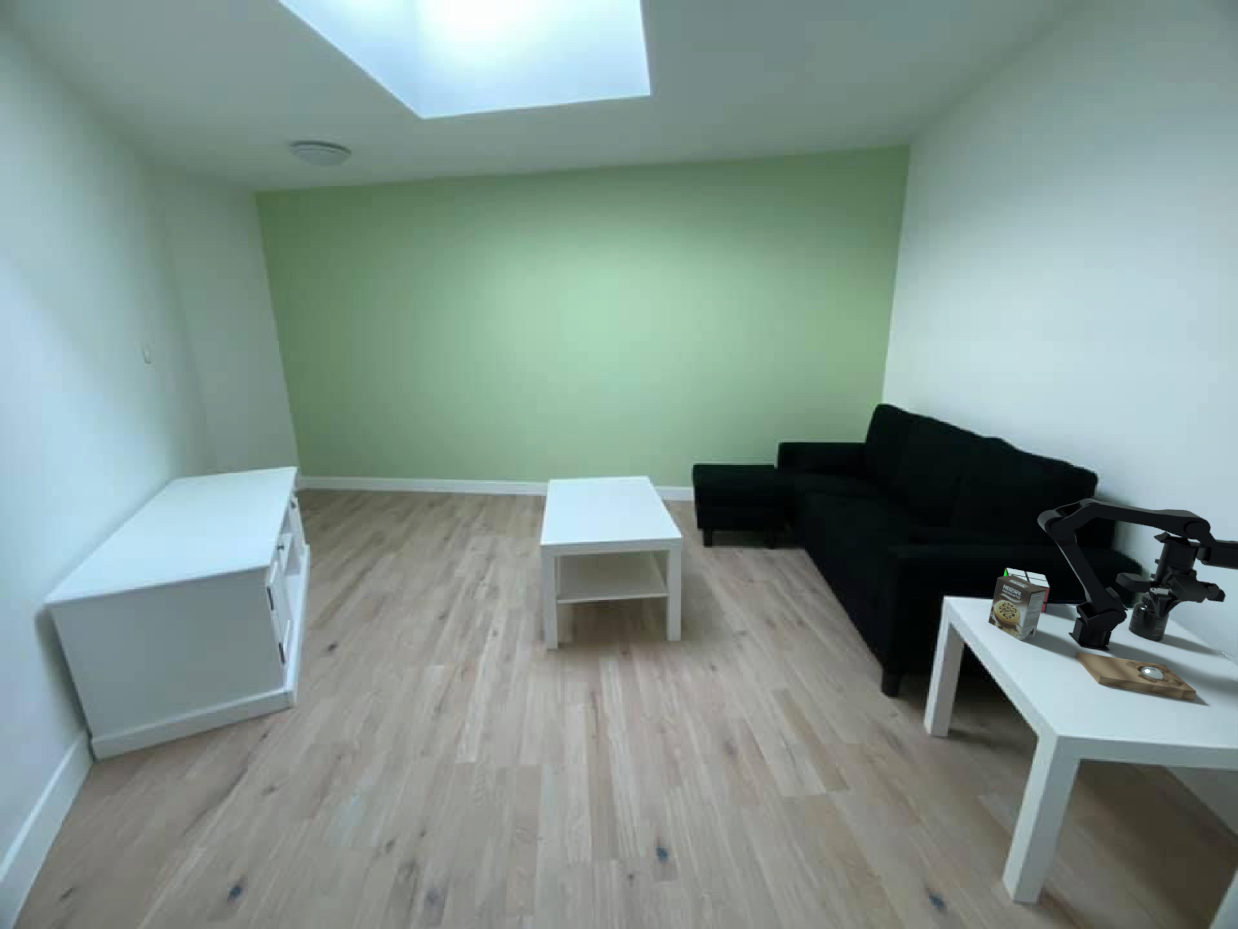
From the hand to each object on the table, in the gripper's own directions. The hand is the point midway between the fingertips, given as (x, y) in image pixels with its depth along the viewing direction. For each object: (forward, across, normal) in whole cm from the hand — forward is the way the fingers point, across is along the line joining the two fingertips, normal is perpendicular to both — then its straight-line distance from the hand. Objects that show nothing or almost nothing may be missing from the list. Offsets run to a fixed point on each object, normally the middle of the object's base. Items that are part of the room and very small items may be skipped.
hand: (1159, 616), depth 128 cm
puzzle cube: (+12, -20, +21) cm, 31 cm away
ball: (+10, -8, -12) cm, 18 cm away
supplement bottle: (+12, +6, +12) cm, 18 cm away
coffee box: (+12, -30, +2) cm, 32 cm away
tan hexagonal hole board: (+12, -10, -12) cm, 20 cm away
